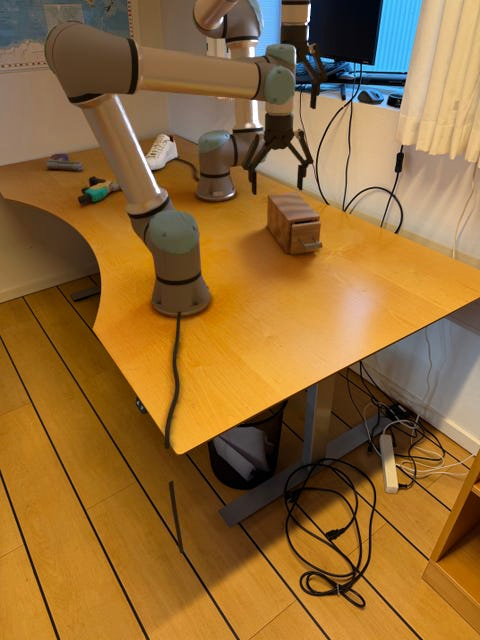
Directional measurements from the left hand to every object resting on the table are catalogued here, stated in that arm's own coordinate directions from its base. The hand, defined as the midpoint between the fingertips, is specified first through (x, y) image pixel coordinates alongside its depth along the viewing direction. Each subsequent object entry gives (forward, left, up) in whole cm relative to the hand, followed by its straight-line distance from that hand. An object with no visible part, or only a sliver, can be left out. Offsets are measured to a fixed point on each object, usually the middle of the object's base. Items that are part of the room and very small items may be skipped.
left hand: (277, 190), depth 137 cm
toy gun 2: (+43, +71, -19) cm, 85 cm away
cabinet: (+10, -5, -19) cm, 22 cm away
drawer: (+4, -7, -18) cm, 20 cm away
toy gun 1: (+77, +95, -19) cm, 124 cm away
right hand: (+15, -3, +19) cm, 24 cm away
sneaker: (+81, +55, -19) cm, 100 cm away
